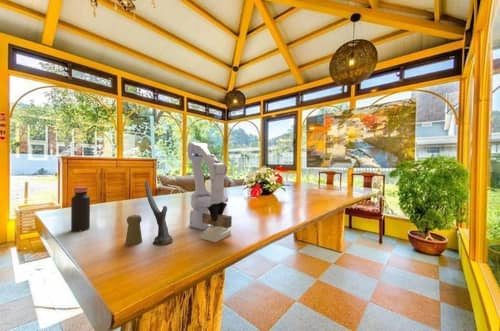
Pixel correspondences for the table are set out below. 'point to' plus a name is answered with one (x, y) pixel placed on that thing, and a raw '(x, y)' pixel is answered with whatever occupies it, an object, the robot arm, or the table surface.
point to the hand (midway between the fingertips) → (216, 220)
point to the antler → (159, 220)
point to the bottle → (80, 210)
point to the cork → (133, 230)
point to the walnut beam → (221, 220)
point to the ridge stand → (215, 233)
